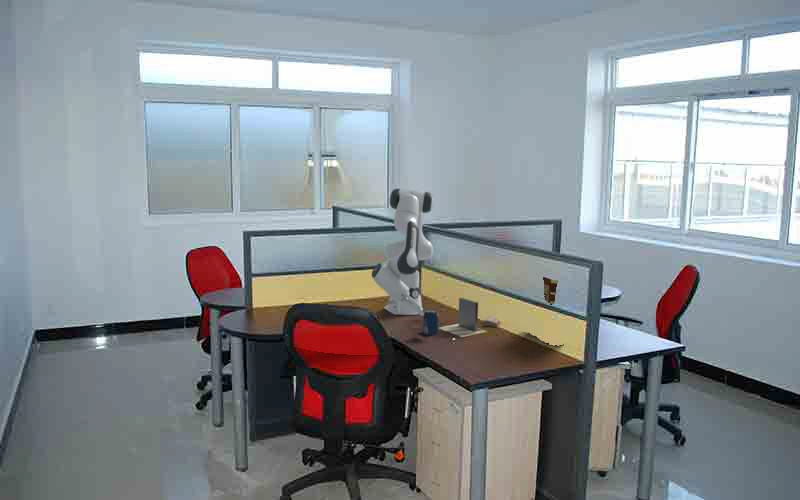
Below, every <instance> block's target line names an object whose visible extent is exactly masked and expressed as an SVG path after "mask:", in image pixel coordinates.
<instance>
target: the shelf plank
mask: <svg viewBox="0 0 800 500" xmlns="http://www.w3.org/2000/svg"><path fill="white" fill-rule="evenodd" d="M477 328H478V327H477ZM478 329H481V328H478ZM438 330H443V331H445V332H448V333H449V334H450V333H451V334H453V335H456V336H458V337H460V338H464V337H468V336H469V337H470V336H473V335H478V334H484V333H488V331H487V330H484V329H481V330H482V331H477V332H474V331H471V330H468V329H465V328H462V327H460V326H459V323H456V324H452V325H445V326H440V327H438Z"/></svg>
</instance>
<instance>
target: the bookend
mask: <svg viewBox="0 0 800 500" xmlns="http://www.w3.org/2000/svg"><path fill="white" fill-rule="evenodd" d="M478 312H479V302H478V301H475V300H471V299H467V298H464V297H459V298H458V324H459V326H460V327H462V328H465V329H468V330H471V331H474V332H477V331H482V330H483V329H482V330H481V328H479V329H478V324H479V323H478V321H479V320H478V319H479V318H478V316H479V313H478Z"/></svg>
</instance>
